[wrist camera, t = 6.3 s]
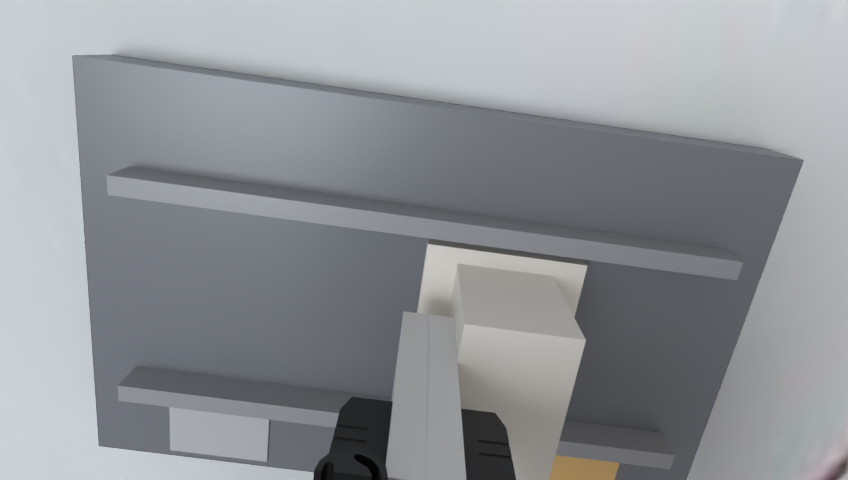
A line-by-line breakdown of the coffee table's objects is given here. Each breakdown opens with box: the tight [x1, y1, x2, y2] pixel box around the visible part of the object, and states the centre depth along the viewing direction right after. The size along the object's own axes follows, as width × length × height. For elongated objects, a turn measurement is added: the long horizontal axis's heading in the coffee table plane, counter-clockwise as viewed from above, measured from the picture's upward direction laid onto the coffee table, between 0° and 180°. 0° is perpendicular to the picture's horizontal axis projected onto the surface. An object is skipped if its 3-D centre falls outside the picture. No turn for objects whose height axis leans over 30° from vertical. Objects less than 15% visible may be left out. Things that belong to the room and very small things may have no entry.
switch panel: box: [72, 55, 804, 480], centre depth 19 cm, size 14×22×3 cm, turn 82°
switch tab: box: [417, 238, 588, 480], centre depth 17 cm, size 6×5×5 cm
